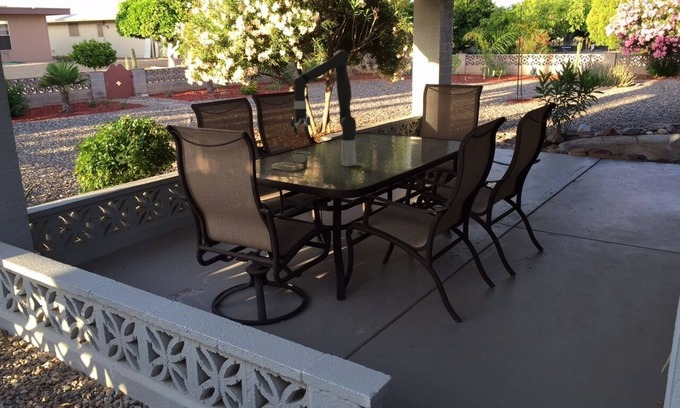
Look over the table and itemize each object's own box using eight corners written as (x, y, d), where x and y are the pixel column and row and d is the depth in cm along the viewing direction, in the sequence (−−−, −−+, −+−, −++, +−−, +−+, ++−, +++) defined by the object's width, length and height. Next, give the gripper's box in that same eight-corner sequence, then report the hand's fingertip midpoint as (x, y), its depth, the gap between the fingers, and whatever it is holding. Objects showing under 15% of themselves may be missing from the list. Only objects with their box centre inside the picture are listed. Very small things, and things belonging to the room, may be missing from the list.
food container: (311, 165, 398) (311, 151, 396) (306, 167, 393) (306, 152, 390) (296, 164, 404) (296, 150, 402) (291, 166, 399) (291, 151, 397)
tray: (284, 166, 398) (284, 161, 398) (303, 168, 387) (303, 164, 387) (271, 168, 389) (271, 164, 389) (291, 171, 378) (291, 167, 378)
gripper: (305, 106, 390) (306, 131, 394) (287, 108, 381) (288, 133, 385) (312, 107, 384) (313, 132, 388) (294, 108, 375) (295, 134, 379)
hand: (301, 132), depth 386 cm, fingers open, 8 cm apart
